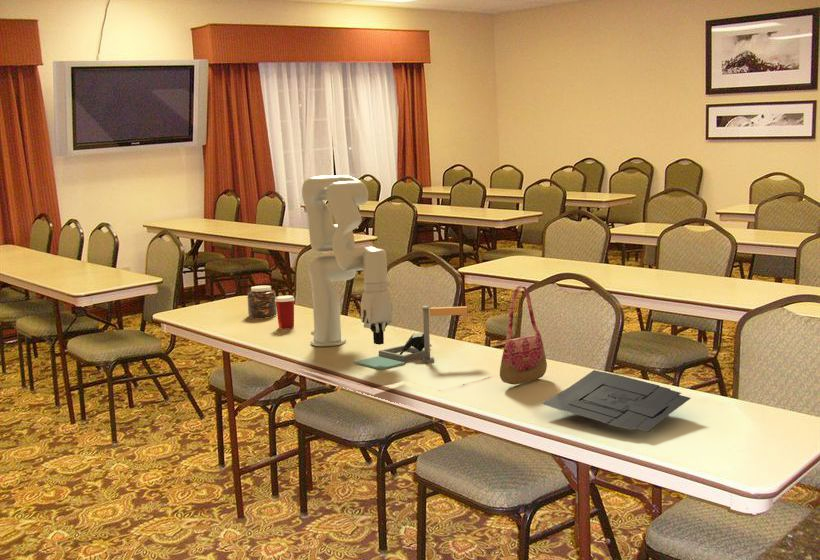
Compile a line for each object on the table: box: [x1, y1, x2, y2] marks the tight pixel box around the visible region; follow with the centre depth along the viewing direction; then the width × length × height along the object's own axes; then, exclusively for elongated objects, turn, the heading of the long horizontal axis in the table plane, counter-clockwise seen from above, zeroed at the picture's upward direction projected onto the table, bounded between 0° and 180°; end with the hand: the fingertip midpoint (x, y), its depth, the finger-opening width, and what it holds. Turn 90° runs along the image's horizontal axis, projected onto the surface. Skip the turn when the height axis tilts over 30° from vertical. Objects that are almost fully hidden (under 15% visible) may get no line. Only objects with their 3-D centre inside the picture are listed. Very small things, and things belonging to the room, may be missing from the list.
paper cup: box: [275, 295, 295, 330], centre depth 340 cm, size 8×8×14 cm
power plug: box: [399, 332, 433, 355], centre depth 288 cm, size 6×8×12 cm
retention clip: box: [421, 305, 469, 322], centre depth 279 cm, size 15×3×5 cm, turn 90°
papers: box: [541, 369, 692, 432], centre depth 221 cm, size 24×30×4 cm
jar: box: [247, 285, 277, 319], centre depth 363 cm, size 12×12×15 cm
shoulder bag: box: [499, 285, 548, 385], centre depth 250 cm, size 17×3×28 cm, turn 128°
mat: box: [353, 355, 406, 371], centre depth 281 cm, size 14×10×1 cm
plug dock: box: [378, 308, 435, 364], centre depth 286 cm, size 20×11×18 cm, turn 41°
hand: (378, 343), depth 280 cm, fingers closed
